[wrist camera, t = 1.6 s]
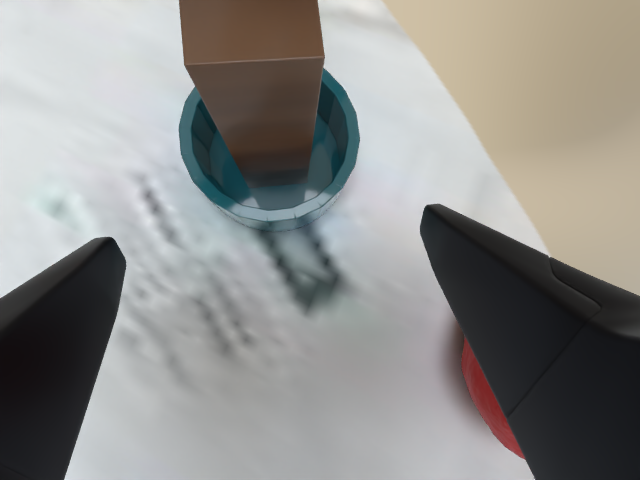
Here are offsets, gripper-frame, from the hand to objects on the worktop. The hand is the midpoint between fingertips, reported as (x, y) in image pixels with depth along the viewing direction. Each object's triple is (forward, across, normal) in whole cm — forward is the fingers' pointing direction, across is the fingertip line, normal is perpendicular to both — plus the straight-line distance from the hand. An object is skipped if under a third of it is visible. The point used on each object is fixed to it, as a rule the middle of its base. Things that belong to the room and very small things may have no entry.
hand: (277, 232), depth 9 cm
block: (+14, 0, +4) cm, 14 cm away
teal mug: (+15, 0, +3) cm, 15 cm away
